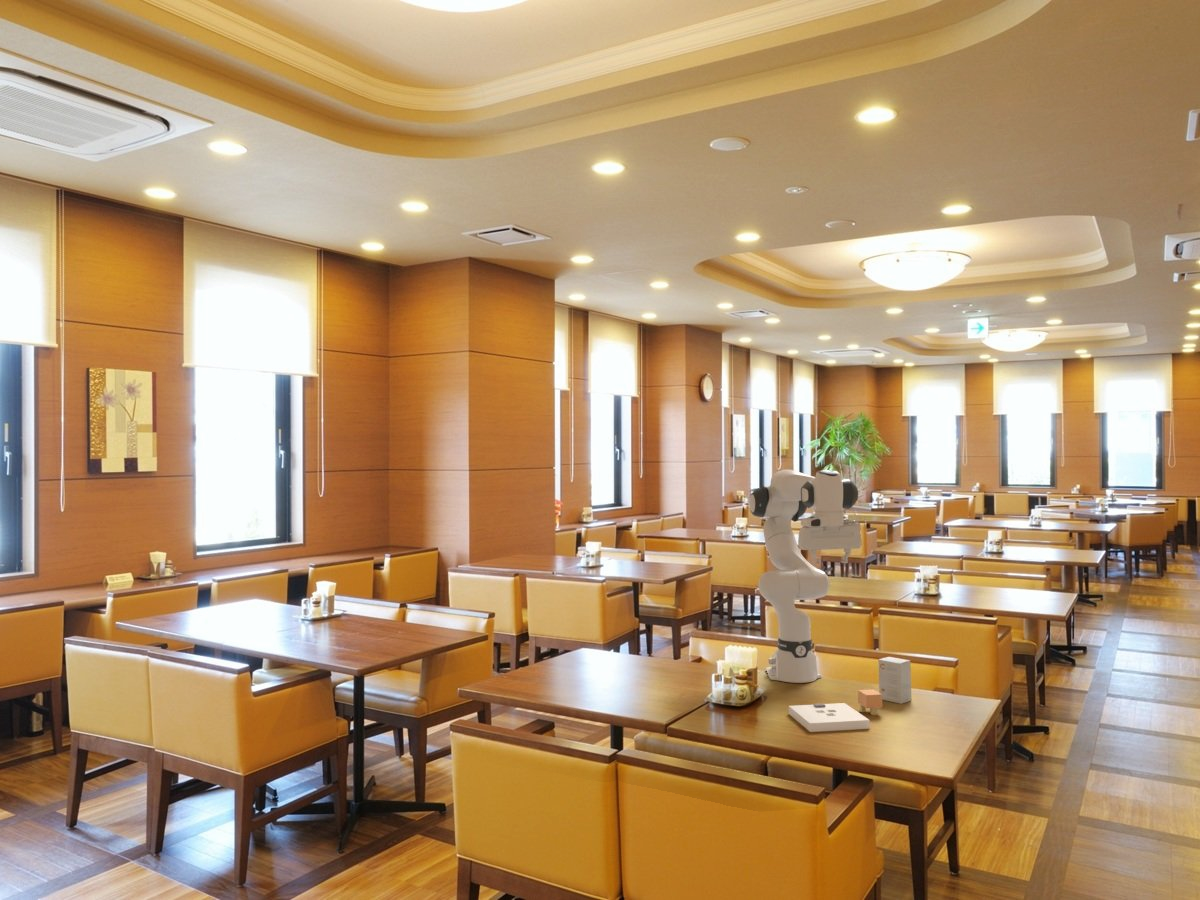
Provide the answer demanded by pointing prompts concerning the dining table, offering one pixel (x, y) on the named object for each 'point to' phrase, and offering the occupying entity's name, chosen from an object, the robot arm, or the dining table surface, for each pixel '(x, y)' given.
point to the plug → (869, 700)
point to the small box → (895, 679)
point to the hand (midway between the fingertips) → (830, 563)
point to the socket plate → (828, 717)
